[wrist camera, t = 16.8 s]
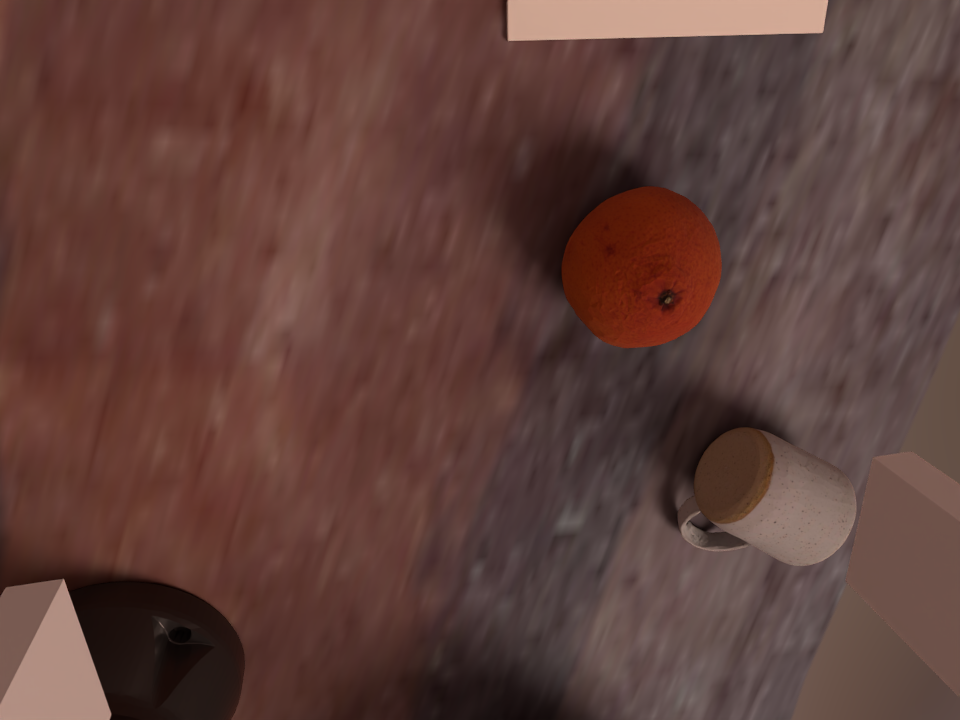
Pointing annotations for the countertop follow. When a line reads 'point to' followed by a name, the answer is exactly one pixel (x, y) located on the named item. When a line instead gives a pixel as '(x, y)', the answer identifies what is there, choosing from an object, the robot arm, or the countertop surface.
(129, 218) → the countertop surface
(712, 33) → the paper
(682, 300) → the fruit
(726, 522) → the ceramic mug
